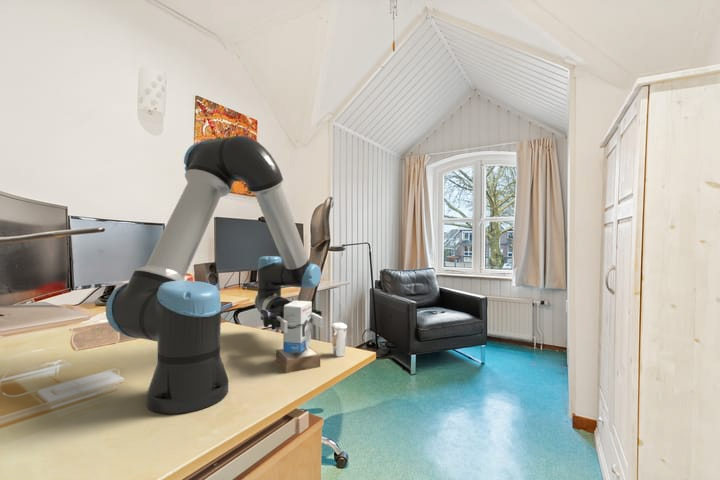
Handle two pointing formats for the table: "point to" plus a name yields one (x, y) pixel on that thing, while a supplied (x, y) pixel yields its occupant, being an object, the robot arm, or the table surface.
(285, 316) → the ink box
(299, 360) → the plinth
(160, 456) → the table surface
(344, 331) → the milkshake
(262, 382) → the table surface
